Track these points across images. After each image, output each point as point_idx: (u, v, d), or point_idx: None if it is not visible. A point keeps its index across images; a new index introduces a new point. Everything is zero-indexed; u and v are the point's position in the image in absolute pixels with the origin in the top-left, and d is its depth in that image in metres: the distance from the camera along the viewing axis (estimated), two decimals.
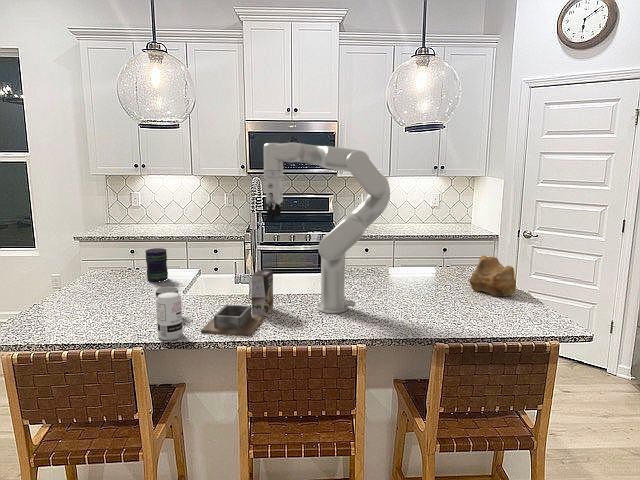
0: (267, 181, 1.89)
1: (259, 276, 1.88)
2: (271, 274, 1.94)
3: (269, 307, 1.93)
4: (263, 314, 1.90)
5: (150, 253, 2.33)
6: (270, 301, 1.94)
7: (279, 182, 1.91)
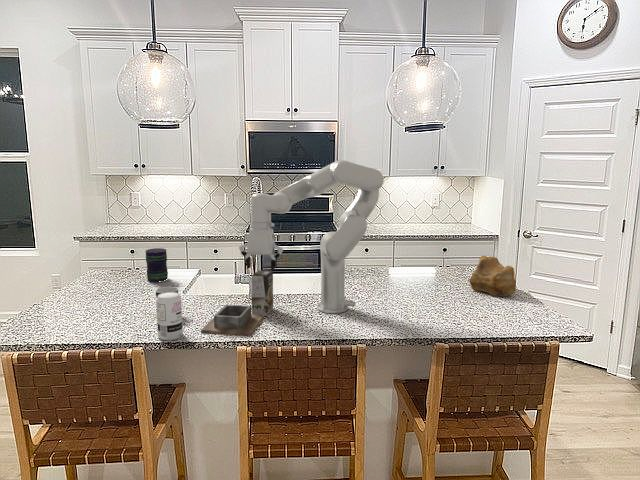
0: (270, 232, 1.87)
1: (259, 276, 1.88)
2: (271, 274, 1.94)
3: (269, 307, 1.93)
4: (263, 314, 1.90)
5: (150, 253, 2.33)
6: (270, 301, 1.94)
7: None
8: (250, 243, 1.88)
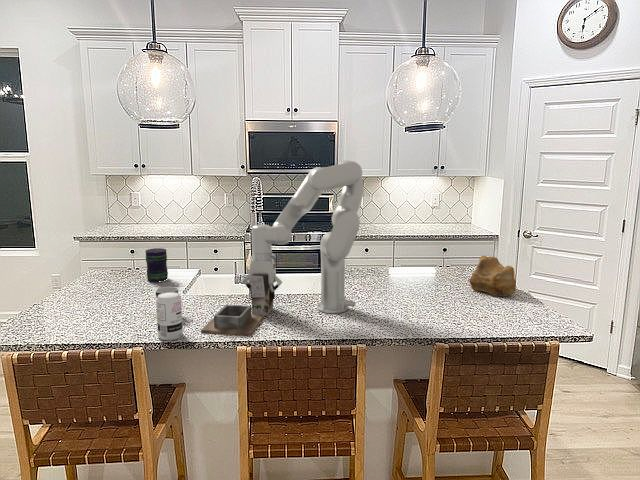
0: (271, 263, 1.89)
1: (259, 276, 1.88)
2: None
3: (269, 307, 1.93)
4: (263, 314, 1.90)
5: (150, 253, 2.33)
6: None
7: None
8: (251, 274, 1.90)
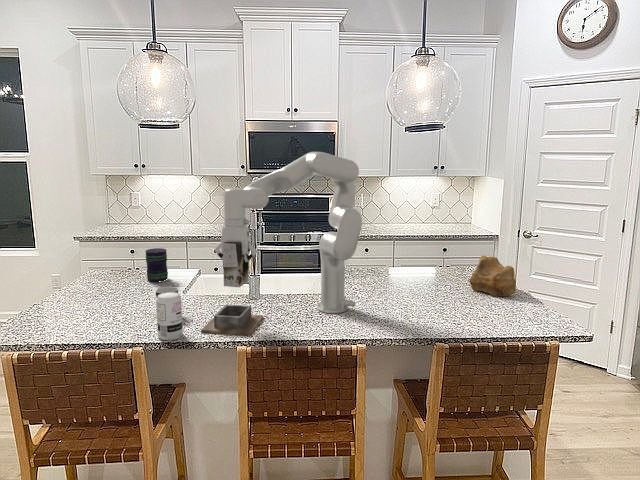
0: (245, 230, 1.74)
1: (231, 244, 1.73)
2: None
3: (242, 279, 1.77)
4: (236, 285, 1.75)
5: (150, 253, 2.33)
6: None
7: None
8: (223, 242, 1.75)
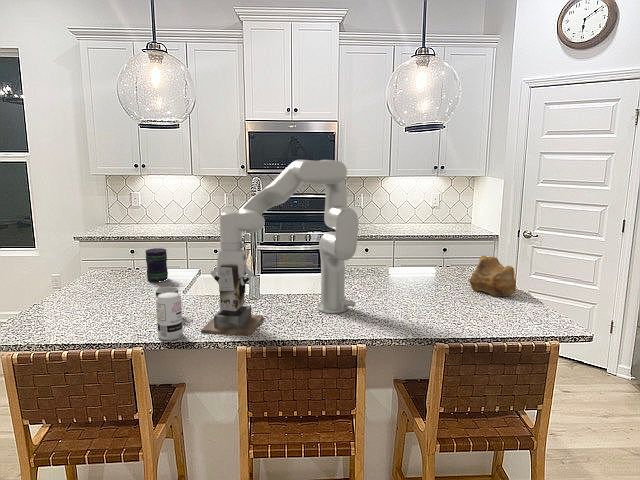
0: (241, 253, 1.73)
1: (227, 267, 1.72)
2: None
3: (239, 302, 1.77)
4: (232, 309, 1.74)
5: (150, 253, 2.33)
6: None
7: None
8: (220, 265, 1.74)
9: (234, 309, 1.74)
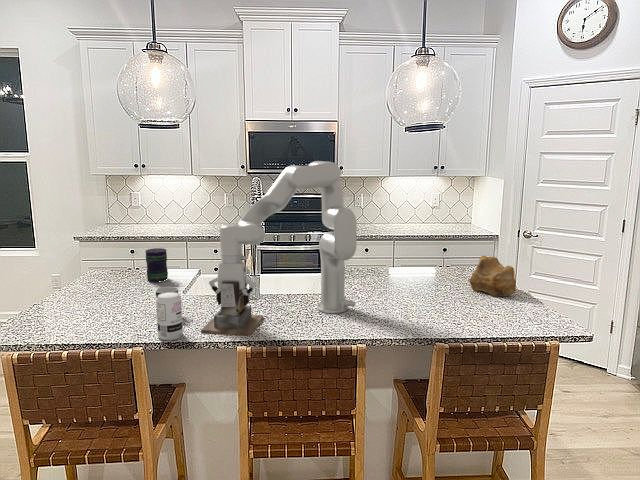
0: (242, 266, 1.74)
1: (229, 284, 1.73)
2: None
3: None
4: None
5: (150, 253, 2.33)
6: (241, 311, 1.79)
7: None
8: (220, 278, 1.75)
9: None
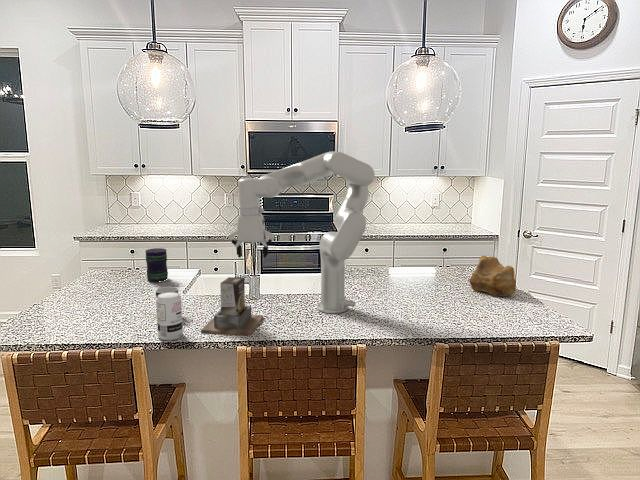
0: (260, 218, 1.80)
1: (229, 284, 1.73)
2: (242, 281, 1.79)
3: None
4: None
5: (150, 253, 2.33)
6: (241, 311, 1.79)
7: None
8: (240, 231, 1.81)
9: None
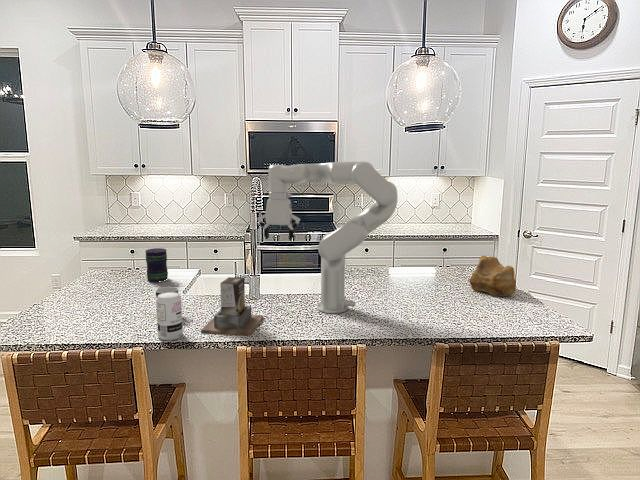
0: (288, 202, 1.92)
1: (229, 284, 1.73)
2: (242, 281, 1.79)
3: None
4: None
5: (150, 253, 2.33)
6: (241, 311, 1.79)
7: None
8: (268, 213, 1.93)
9: None
